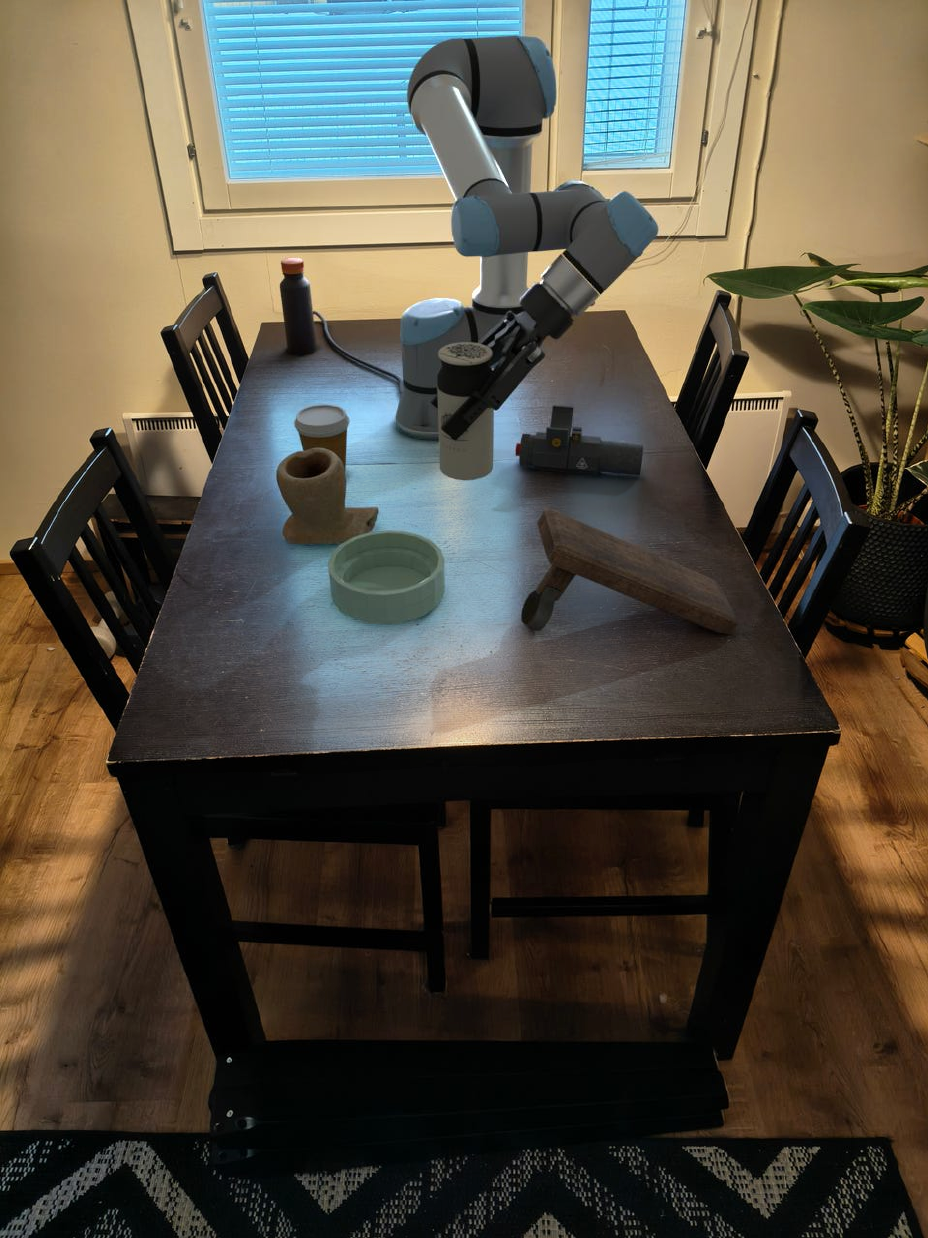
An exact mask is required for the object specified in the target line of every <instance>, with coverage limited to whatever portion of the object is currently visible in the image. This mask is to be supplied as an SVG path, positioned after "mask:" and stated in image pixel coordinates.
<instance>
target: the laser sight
mask: <svg viewBox="0 0 928 1238" xmlns="http://www.w3.org/2000/svg"><path fill="white" fill-rule="evenodd" d="M573 416H574V406H572V405H562V404H561V405H560V404H558V405H557V404H552V409H551V418H550V425H549V426H548V427H546V429H545V430H546V431H545V432H541V431H536V433H535V434H531V433H522V435H521V439H520V442H516V445H515V453H514V454H515V457H519V458H518V460H519V461H518V463H519V466H520V467H532V468H533V470H534V471H545V472H546V471H547V472H557V473H570V474H579V475H580V474H582V475H593V476H597V475H598V473H606V474H619V475H629V476H630V475H631V476H641V473H642V472H641V471H642V462H643V455H644V447H645V446H644V443H638V442H625V441H613V440H602V437H601V436H594V435H593V436H592V435H583V427H582V426H573V421H574V420H573V418H574V417H573Z"/></svg>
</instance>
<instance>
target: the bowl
mask: <svg viewBox="0 0 928 1238" xmlns="http://www.w3.org/2000/svg"><path fill="white" fill-rule="evenodd" d="M327 570H328V578H329V587H330V594H331V600H332V603H333V605H334V606H335V607H336V608H337V610H338V611H339V612H340V613H342V614H344V615H345V616H347V617H348V618H350V619H352V620H355V621H358V622H363V623H366V624H372V625H388V626H389V625H395V624H401V623H408V622H411V621H413V620H416V619H419V618H422V617H423V616H426V615H427V614H428V613H430V612H431V611H433V610H435V609H436V608H437V606H438V605H439V604H440V602H441V601H442V599H443V598H444V594H445V588H446V583H445V582H446V581H445V579H446V578H445V556H444V554H443V551H442V549H441V548H440V546H439V545H437V544H436V543H435V542H434V541H433V540H431V539H429V538H427V537H425V536H423V535H421V534H417V533H414V532H409V531H406V530H394V529H393V530H389V529H385V530H376V531H371V532H369V533H365V534H362V535H359V536H356V537H353V538H351V539H349V540H347V541H346V542H344V543H339V545H338V546H336V548H335V549H334V550H333V551H332V552H331V554H330V557H329V559H328V562H327Z"/></svg>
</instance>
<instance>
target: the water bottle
mask: <svg viewBox="0 0 928 1238" xmlns="http://www.w3.org/2000/svg"><path fill="white" fill-rule="evenodd" d="M280 266H281V272H282V275H283V279H282V280H281V281H280V283H279V292H280V293H279V294H280V299H281V308H282V318H283V323H284V332H285V338H286V340H285V341H286V347H287V351H288V352H289V353H291V354H295V355H305V354H310V353H313V352H314V351H315V350H316V349H317V347H318V346H317V338H316V327H315V320H314V319H315V318H314V315H313V311H314V309H313V300H312V299H313V298H312V291H311V282H310V281H309V280H308V279H307V278H306V277H305V276H304V274H305V263H304V260H303V259H302V258H299V257H288V258H284V259H282V260H281V261H280Z"/></svg>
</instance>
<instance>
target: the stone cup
mask: <svg viewBox="0 0 928 1238" xmlns="http://www.w3.org/2000/svg"><path fill="white" fill-rule="evenodd" d="M275 478H276V483H277V487H278V490H279V493H280V496H281V497H282V499H283V502H284V503H285V505H286V506H287V508H288V509H289V511H290V513H291V514H290V515H288V517H287V519H286V520H285V522H284V524H283V526H282V536H283V537H284V539H285V541H286V542H288V543H290V544H292V545H293V544H294V545H304V546H305V545H306V546H307V545H308V546H311V545H312V546H313V545H335V544H342V543H344V542H346V541H347V540H349V539H351V538H353V537H356V536H359V535H362V534H365V533H369V532H373V529H374V527H375V526H376V522H377V521H378V516H379V512H380V511H379V507H378V506H372V507H371V506H370V507H367V506H364V507H362V506H361V507H359V506H357V507H356V506H355V507H354V506H353V507H352V506H350V507H349V506H348V507H347V506H346V498H347V497H346V495H347V474H346V470H345V469H344V466H343V463H342V461H341V460H340V458H339V457H338V456H337V455H336V454H335V453H334V452H332V451H330V450H327V449H324V448H312V449H309V450H305V451H303V450H298V451H295V452H292V453H290V454H288V455H287V456H286V457H285V458H283V459H282V461H280V463H279V464H278V466H277V468H276V472H275Z"/></svg>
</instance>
